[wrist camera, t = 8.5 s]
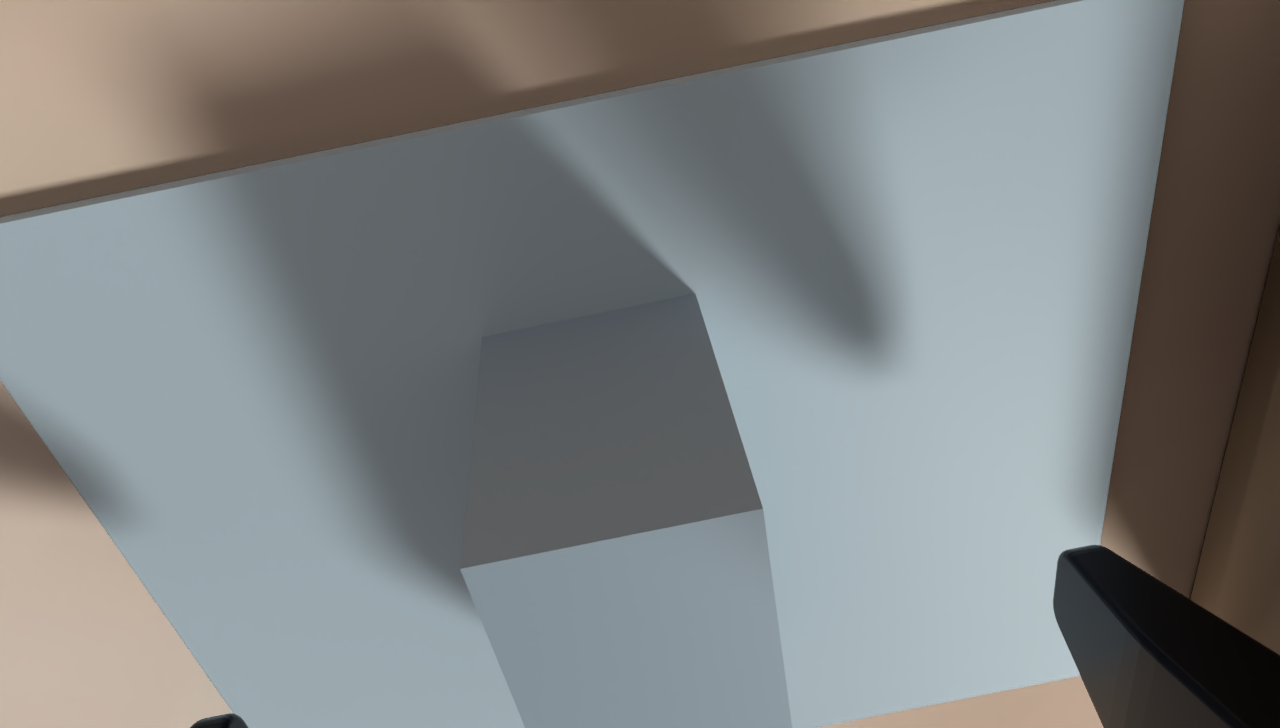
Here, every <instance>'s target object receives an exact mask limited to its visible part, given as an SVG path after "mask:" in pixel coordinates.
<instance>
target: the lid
mask: <svg viewBox="0 0 1280 728" xmlns="http://www.w3.org/2000/svg"><path fill="white" fill-rule="evenodd" d="M1183 7H1184V0H1055V1H1050V2H1045V3H1040V4H1035V5H1030V6H1026V7H1021V8H1016V9H1011V10H1006V11H1001V12H996V13H991V14H987V15H982V16H977V17H972V18H967V19H962V20H957V21H952V22H948V23H943V24H938V25H933V26H928V27H923V28H918V29H914V30H909V31H904V32H899V33H894V34H889V35H884V36H879V37H875V38H870V39H865V40H860V41H855V42H850V43H845V44H840V45H836V46H831V47H826V48H821V49H816V50H811V51H806V52H802V53H797V54H792V55H787V56H782V57H777V58H772V59H767V60H763V61H758V62H753V63H748V64H743V65H738V66H733V67H728V68H724V69H719V70H714V71H709V72H704V73H699V74H694V75H690V76H685V77H680V78H675V79H670V80H665V81H660V82H655V83H651V84H646V85H641V86H636V87H631V88H626V89H621V90H617V91H612V92H607V93H602V94H597V95H592V96H587V97H582V98H578V99H573V100H568V101H563V102H558V103H553V104H548V105H543V106H539V107H534V108H529V109H524V110H519V111H514V112H509V113H505V114H500V115H495V116H490V117H485V118H480V119H475V120H470V121H466V122H461V123H456V124H451V125H446V126H441V127H436V128H431V129H427V130H422V131H417V132H412V133H407V134H402V135H397V136H393V137H388V138H383V139H378V140H373V141H368V142H363V143H358V144H354V145H349V146H344V147H339V148H334V149H329V150H324V151H319V152H315V153H310V154H305V155H300V156H295V157H290V158H285V159H281V160H276V161H271V162H266V163H261V164H256V165H251V166H246V167H242V168H237V169H232V170H227V171H222V172H217V173H212V174H207V175H203V176H198V177H193V178H188V179H183V180H178V181H173V182H169V183H164V184H159V185H154V186H149V187H144V188H139V189H134V190H130V191H125V192H120V193H115V194H110V195H105V196H100V197H95V198H91V199H86V200H81V201H76V202H71V203H66V204H61V205H57V206H52V207H47V208H42V209H37V210H32V211H27V212H22V213H18V214H13V215H8V216H3V217H0V380H1V382H2V383H3V385H4V386H5V388H6V389H7V390H8V392H9V393H10V395H11V396H12V398H13V399H14V400H15V402H16V403H17V405H18V406H19V408H20V409H21V410H22V412H23V413H24V415H25V416H26V418H27V419H28V420H29V422H30V423H31V425H32V426H33V428H34V429H35V431H36V432H37V433H38V435H39V436H40V438H41V439H42V441H43V442H44V443H45V445H46V446H47V448H48V449H49V451H50V452H51V453H52V455H53V456H54V458H55V459H56V461H57V462H58V463H59V465H60V466H61V468H62V469H63V471H64V472H65V473H66V475H67V476H68V478H69V479H70V481H71V482H72V483H73V485H74V486H75V488H76V489H77V491H78V492H79V493H80V495H81V496H82V498H83V499H84V501H85V502H86V503H87V505H88V506H89V508H90V509H91V511H92V512H93V513H94V515H95V516H96V518H97V519H98V521H99V522H100V523H101V525H102V526H103V528H104V529H105V531H106V532H107V533H108V535H109V536H110V538H111V539H112V541H113V542H114V543H115V545H116V546H117V548H118V549H119V551H120V552H121V553H122V555H123V556H124V558H125V559H126V561H127V562H128V563H129V565H130V566H131V568H132V569H133V571H134V572H135V573H136V575H137V576H138V578H139V579H140V581H141V582H142V583H143V585H144V586H145V588H146V589H147V591H148V592H149V593H150V595H151V596H152V598H153V599H154V601H155V602H156V603H157V605H158V606H159V608H160V609H161V611H162V612H163V613H164V615H165V616H166V618H167V619H168V621H169V622H170V623H171V625H172V626H173V628H174V629H175V631H176V632H177V633H178V635H179V636H180V638H181V639H182V641H183V642H184V643H185V645H186V646H187V648H188V649H189V651H190V652H191V653H192V655H193V656H194V658H195V659H196V661H197V662H198V663H199V665H200V666H201V668H202V669H203V671H204V672H205V673H206V675H207V676H208V678H209V679H210V681H211V682H212V683H213V685H214V686H215V688H216V689H217V691H218V692H219V693H220V695H221V696H222V698H223V699H224V701H225V702H226V703H227V705H228V706H229V708H230V709H231V711H232V712H233V713H234V714H236V715H238V716H240V717H241V718H242V719H243V720H244V722H245V723H246V725H247V726H248V728H817V727H822V726H827V725H832V724H838V723H843V722H848V721H853V720H858V719H863V718H868V717H873V716H878V715H883V714H889V713H894V712H899V711H904V710H909V709H914V708H919V707H924V706H929V705H935V704H940V703H945V702H950V701H955V700H960V699H965V698H970V697H975V696H981V695H986V694H991V693H996V692H1001V691H1006V690H1011V689H1016V688H1021V687H1026V686H1032V685H1037V684H1042V683H1047V682H1052V681H1057V680H1062V679H1067V678H1072V677H1078V676H1080V673H1079V671H1078V669H1077V667H1076V664H1075V662H1074V660H1073V658H1072V655H1071V653H1070V651H1069V649H1068V646H1067V644H1066V642H1065V640H1064V637H1063V635H1062V633H1061V631H1060V628H1059V626H1058V624H1057V621H1056V618H1055V614H1054V610H1053V596H1054V587H1055V578H1056V569H1057V561H1058V557H1059V555H1060V554H1061V553H1062V552H1063V551H1065V550H1068V549H1074V548H1079V547H1084V546H1089V545H1100V542H1101V535H1102V529H1103V522H1104V516H1105V510H1106V503H1107V497H1108V490H1109V484H1110V477H1111V471H1112V464H1113V458H1114V452H1115V445H1116V439H1117V432H1118V426H1119V419H1120V413H1121V406H1122V400H1123V394H1124V387H1125V381H1126V374H1127V368H1128V361H1129V355H1130V348H1131V342H1132V335H1133V329H1134V323H1135V316H1136V310H1137V303H1138V297H1139V290H1140V284H1141V277H1142V271H1143V265H1144V258H1145V252H1146V245H1147V239H1148V232H1149V226H1150V219H1151V213H1152V206H1153V200H1154V194H1155V187H1156V181H1157V174H1158V168H1159V161H1160V155H1161V148H1162V142H1163V136H1164V129H1165V123H1166V116H1167V110H1168V103H1169V97H1170V90H1171V84H1172V77H1173V71H1174V65H1175V58H1176V52H1177V45H1178V39H1179V32H1180V26H1181V19H1182V13H1183Z"/></svg>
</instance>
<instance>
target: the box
mask: <svg viewBox="0 0 1280 728" xmlns="http://www.w3.org/2000/svg"><path fill="white" fill-rule="evenodd" d="M1190 600H1192V601H1193V602H1195V603H1197V604H1198V605H1200V606H1201V607H1203V608H1205V609H1206V610H1208V611H1209V612H1211V613H1213V614H1214V615H1216V616H1218V617H1219V618H1221V619H1222V620H1224V621H1226V622H1227V623H1229V624H1230V625H1232V626H1234V627H1235V628H1237V629H1239V630H1240V631H1242V632H1243V633H1245V634H1247V635H1248V636H1250V637H1251V638H1253V639H1255V640H1256V641H1258V642H1260V643H1261V644H1263V645H1264V646H1266V647H1268V648H1269V649H1271V650H1272V651H1274V652H1276V653H1277V654H1279V655H1280V227H1279V231H1278V235H1277V240H1276V244H1275V248H1274V252H1273V256H1272V260H1271V265H1270V269H1269V273H1268V277H1267V281H1266V286H1265V290H1264V294H1263V298H1262V302H1261V306H1260V311H1259V315H1258V319H1257V323H1256V327H1255V332H1254V336H1253V340H1252V344H1251V348H1250V352H1249V357H1248V361H1247V365H1246V369H1245V373H1244V378H1243V382H1242V386H1241V390H1240V394H1239V398H1238V403H1237V407H1236V411H1235V415H1234V419H1233V423H1232V428H1231V432H1230V436H1229V440H1228V444H1227V449H1226V453H1225V457H1224V461H1223V465H1222V469H1221V474H1220V478H1219V482H1218V486H1217V490H1216V495H1215V499H1214V503H1213V507H1212V511H1211V515H1210V520H1209V524H1208V528H1207V532H1206V536H1205V541H1204V545H1203V549H1202V553H1201V557H1200V561H1199V566H1198V570H1197V574H1196V578H1195V582H1194V586H1193V591H1192V595H1191V599H1190Z"/></svg>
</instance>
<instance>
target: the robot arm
mask: <svg viewBox="0 0 1280 728" xmlns="http://www.w3.org/2000/svg"><path fill="white" fill-rule="evenodd" d="M1053 610H1054V614H1055V618H1056V621H1057V624H1058V626H1059V628H1060V631H1061V633H1062V635H1063V637H1064V640H1065V642H1066V644H1067V646H1068V649H1069V651H1070V653H1071V655H1072V658H1073V660H1074V662H1075V664H1076V667H1077V669H1078V671H1079V673H1080V676H1081V678H1082V680H1083V682H1084V685H1085V687H1086V689H1087V691H1088V693H1089V696H1090V698H1091V700H1092V702H1093V705H1094V707H1095V709H1096V711H1097V714H1098V716H1099V718H1100V720H1101V723H1102V725H1103V727H1104V728H1280V655H1279V654H1277V653H1276V652H1274V651H1272V650H1271V649H1269V648H1268V647H1266V646H1264V645H1263V644H1261V643H1260V642H1258V641H1256V640H1255V639H1253V638H1251V637H1250V636H1248V635H1247V634H1245V633H1243V632H1242V631H1240V630H1239V629H1237V628H1235V627H1234V626H1232V625H1230V624H1229V623H1227V622H1226V621H1224V620H1222V619H1221V618H1219V617H1218V616H1216V615H1214V614H1213V613H1211V612H1209V611H1208V610H1206V609H1205V608H1203V607H1201V606H1200V605H1198V604H1197V603H1195V602H1193V601H1192V600H1190V599H1188V598H1187V597H1185V596H1184V595H1182V594H1180V593H1179V592H1177V591H1176V590H1174V589H1172V588H1171V587H1169V586H1167V585H1166V584H1164V583H1163V582H1161V581H1159V580H1158V579H1156V578H1155V577H1153V576H1151V575H1150V574H1148V573H1146V572H1145V571H1143V570H1142V569H1140V568H1138V567H1137V566H1135V565H1134V564H1132V563H1130V562H1129V561H1127V560H1125V559H1124V558H1122V557H1121V556H1119V555H1117V554H1116V553H1114V552H1113V551H1111V550H1109V549H1107V548H1106V547H1103V546H1100V545H1089V546H1084V547H1079V548H1074V549H1068V550H1065V551H1063V552H1062V553H1061V554H1060V555H1059V557H1058V561H1057V569H1056V578H1055V587H1054V596H1053ZM190 728H248V726H247V725H246V723H245V722H244V720H243V719H242V718H241V717H240V716H238V715H236V714H225V715H220V716H214V717H209V718H205V719H202V720H199V721H197V722H196V723H195V724H194V725H192V726H191V727H190Z"/></svg>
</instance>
